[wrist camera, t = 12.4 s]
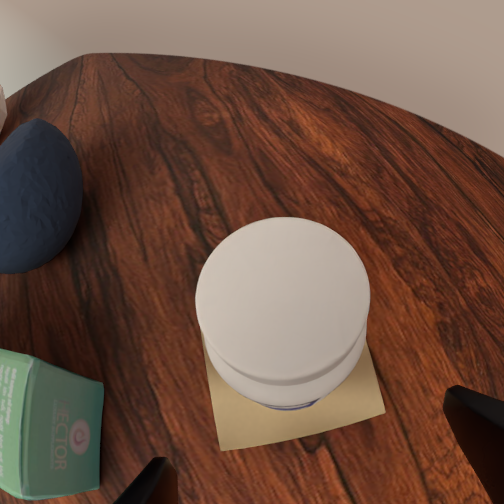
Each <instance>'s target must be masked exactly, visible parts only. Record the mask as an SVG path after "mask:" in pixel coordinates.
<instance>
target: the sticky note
mask: <svg viewBox="0 0 504 504" xmlns="http://www.w3.org/2000/svg"><path fill="white" fill-rule="evenodd" d="M201 335H202V342H203V349H204V356H205V363H206V369H207V376H208V382H209V388H210V394H211V400H212V406H213V412H214V418H215V423H216V429H217V434H218V440H219V445H220V450H221V451H226V450H234V449H241V448H247V447H254V446H260V445H265V444H271V443H276V442H281V441H286V440H291V439H295V438H300V437H304V436H308V435H312V434H316V433H320V432H324V431H328V430H332V429H335V428H339V427H343V426H346V425H349V424H353V423H356V422H359V421H362V420H366V419H369V418H372V417H375V416H378V415H381V414H384V413H386V411H385V407H384V403H383V399H382V395H381V392H380V388H379V384H378V380H377V377H376V373H375V370H374V366H373V362H372V359H371V355H370V352H369V349H368V345H367V342H366V339H365V344H364V347H363V350H362V353H361V355H360V358H359V360H358V362H357V363H356V365H355V367H354V369H353V370H352V371H351V373H350V374H349V376H348V377H347V378H346V379H345V380H344V381H343V382H342V383H341V384H340V385H339V386H338V387H337V388H336V389H334V390H333V391H332V392H331V393H330V394H328V395H327V396H326V397H325V398H323V399H322V400H321V401H319V402H317V403H316V404H314V405H312V406H310V407H308V408H305V409H301V410H296V411H279V410H274V409H270V408H268V407H265V406H263V405H261V404H259V403H256V402H254V401H252V400H250V399H248V398H246V397H244V396H243V395H241V394H239V393H238V392H237V391H235V390H234V389H233V388H232V387H231V386H229V385H228V384H227V383H226V382H225V381H224V380H223V379H222V377H221V376H220V375H219V374H218V372H217V371H216V369H215V368H214V366H213V364H212V362H211V360H210V358H209V355H208V353H207V349H206V346H205V340H204V334H203V332H202V330H201Z"/></svg>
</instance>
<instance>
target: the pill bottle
mask: <svg viewBox="0 0 504 504" xmlns="http://www.w3.org/2000/svg"><path fill="white" fill-rule="evenodd" d="M369 306H370V287H369V281H368V276H367V273H366V270H365V267H364V265H363V263H362V261H361V259H360V257H359V256H358V254H357V253H356V251H355V250H354V249H353V247H352V246H351V245H350V244H349V243H348V242H347V241H346V240H345V239H344V238H343V237H341V236H340V235H339V234H338V233H336V232H335V231H333V230H332V229H330V228H328V227H326V226H324V225H322V224H320V223H317V222H314V221H311V220H306V219H302V218H293V217H276V218H269V219H264V220H260V221H257V222H254V223H251V224H248V225H246V226H244V227H242V228H240V229H239V230H237V231H235V232H234V233H232V234H231V235H229V236H228V237H227V238H226V239H224V240H223V241H222V242H221V243H220V244H219V245H218V246H217V247H216V248H215V250H214V251H213V252H212V254H211V255H210V256H209V258H208V259H207V261H206V263H205V265H204V266H203V269H202V271H201V274H200V277H199V280H198V284H197V290H196V312H197V318H198V322H199V325H200V328H201V330H202V332H203V334H204V340H205V346H206V349H207V353H208V355H209V358H210V360H211V362H212V364H213V366H214V368H215V369H216V371H217V372H218V374H219V375H220V376H221V377H222V379H223V380H224V381H225V382H226V383H227V384H228V385H229V386H231V387H232V388H233V389H234V390H235V391H237V392H238V393H239V394H241V395H243V396H244V397H246V398H248V399H250V400H252V401H254V402H256V403H259V404H261V405H263V406H265V407H268V408H270V409H274V410H279V411H296V410H301V409H305V408H308V407H310V406H312V405H314V404H316V403H317V402H319V401H321V400H322V399H323V398H325V397H326V396H327V395H328V394H330V393H331V392H332V391H333V390H334V389H336V388H337V387H338V386H339V385H340V384H341V383H342V382H343V381H344V380H345V379H346V378H347V377H348V376H349V374H350V373H351V371H352V370H353V369H354V367H355V365H356V363H357V362H358V360H359V358H360V355H361V353H362V350H363V347H364V344H365V338H366V330H367V316H368V313H369Z"/></svg>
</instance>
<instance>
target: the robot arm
mask: <svg viewBox="0 0 504 504" xmlns="http://www.w3.org/2000/svg"><path fill="white" fill-rule="evenodd" d="M443 411H444V414H445V416H446V418H447V420H448V422H449V425H450V427H451V429H452V431H453V433H454V435H455V437H456V440H457V442H458V444H459V446H460V448H461V449H462V451H463V453H464V454H465V456H466V458H467V459H468V461H469V463H470V464H471V466H472V468H473V469H474V471H475V473H476V474H477V476H478V478H479V479H480V481H481V483H482V485H483V486H484V488H485V490H486V492H487V493H488V495H489V497H490V499H491V500H492V502H493V504H504V401H501V400H498V399H495V398H492V397H490V396H487V395H484V394H481V393H479V392H476V391H473V390H471V389H468V388H465V387H463V386H460V385H455V386H452V387H450V388H448V389H447V390H446V392H445V398H444V403H443ZM113 504H178V478H177V473H176V471H175V469H174V467H173V466H172V464H171V463H170V461H169V459H168V458H167V457H155V458H153V459H152V460H151V461H150V462H149V463H148V465H147V466H146V467H145V468H144V469H143V470H142V471H141V473H140V474H139V475H138V476H137V477H136V478H135V479H134V481H133V482H132V483H131V484H130V485H129V486H128V487H127V488H126V490H125V491H124V492H123V493H122V494H121V495H120V496H119V497H118V498H117V500H116V501H115V502H114V503H113Z"/></svg>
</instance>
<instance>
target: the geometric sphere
mask: <svg viewBox="0 0 504 504" xmlns="http://www.w3.org/2000/svg"><path fill="white" fill-rule="evenodd" d="M6 117H7V110H6V104H5V97H4V93H3V88H2V86H1V85H0V133H1V130H2V128H3V125H4V122H5V119H6Z"/></svg>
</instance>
